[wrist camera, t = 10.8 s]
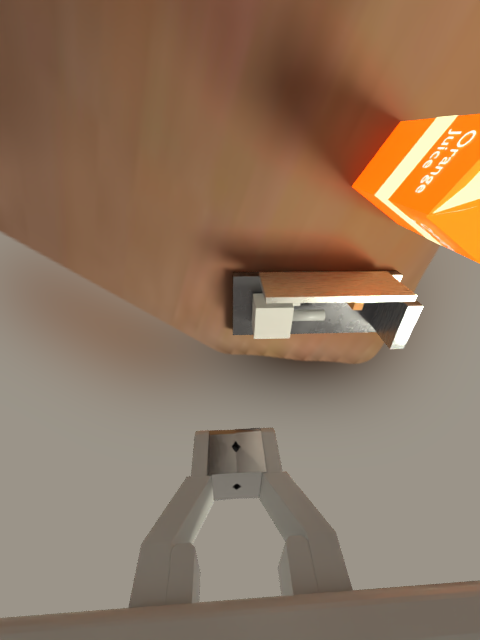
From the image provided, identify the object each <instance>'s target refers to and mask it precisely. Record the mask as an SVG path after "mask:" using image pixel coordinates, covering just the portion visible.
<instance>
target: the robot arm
mask: <svg viewBox="0 0 480 640" xmlns="http://www.w3.org/2000/svg"><path fill="white" fill-rule="evenodd" d="M236 498H260V501H261V502H262V504H263V506H264V507H265V509H266V511H267V512H268V514H269V516H270V517H271V519H272V521H273V522H274V524H275V526H276V527H277V529H278V530H279V532H280V534H281V535H282V537H283V539H284V540H285V542H286V543H285V546H284V549H283V552H282V556H281V559H280V562H279V565H278V571H279V580H280V588H281V596H276V597H262V598H249V599H237V600H224V601H212V602H199V593H200V569H199V565H198V560H197V555H196V550H195V547H194V546H193V545H192V544H193V542H194V540H195V538H196V536H197V535H198V533H199V531H200V529H201V526H202V524H203V523H204V521H205V519H206V516H207V515H208V513H209V511H210V509H211V507H212V505H213V503H214V500H225V499H236ZM0 640H480V581H467V582H454V583H442V584H428V585H415V586H403V587H390V588H377V589H364V590H352V586H351V583H350V579H349V576H348V573H347V569H346V566H345V562H344V559H343V555H342V552H341V549H340V545H339V542H338V538H337V535H336V532H335V531H334V529H333V528H332V527H331V526H330V525H329V523H328V522H327V521H326V520H325V518H324V517H323V516H322V515H321V514H320V512H319V511H318V510H317V509H316V507H315V506H314V505H313V504H312V502H311V501H310V500H309V499H308V498H307V497H306V495H305V494H304V493H303V491H302V490H301V489H300V488H299V486H298V485H297V484H296V483H295V482H294V480H293V479H292V478H291V477H290V475H289V474H288V473H287V472H282V467H281V461H280V456H279V451H278V445H277V440H276V435H275V430H274V428H251V429H235V430H214V431H196V432H195V437H194V449H193V459H192V470H191V476H189V477H186V479H185V480H184V482H183V483H182V485H181V486H180V488H179V489H178V491H177V492H176V494H175V495H174V497H173V498H172V500H171V501H170V502H169V504H168V506H167V507H166V508H165V510H164V511H163V513H162V515H161V516H160V517H159V519H158V520H157V522H156V523H155V525H154V526H153V528H152V529H151V531H150V532H149V534H148V535H147V536H146V538H145V540H144V541H143V543H142V544H141V548H140V553H139V559H138V563H137V568H136V573H135V578H134V583H133V588H132V593H131V598H130V603H129V608H122V609H110V610H96V611H84V612H71V613H59V614H45V615H32V616H19V617H7V618H0Z"/></svg>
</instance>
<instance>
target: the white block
mask: <svg viewBox="0 0 480 640" xmlns="http://www.w3.org/2000/svg"><path fill="white" fill-rule="evenodd" d="M294 306H300V303H265V299H264V296H263V293H257V294H253V302H252V322H251V323H252V329H253V335H254V339H274V338H290V332H291V325H292V321H323V320H325V310H324V309H310V310H294Z"/></svg>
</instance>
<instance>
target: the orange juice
mask: <svg viewBox="0 0 480 640" xmlns="http://www.w3.org/2000/svg"><path fill="white" fill-rule="evenodd" d="M352 187H353V188H354V189H355V190H356V191H358V192H359V193H360V194H361V195H363V196H364V197H365V198H366V199H368V200H369V201H370V202H371V203H373V204H374V205H375V206H376V207H377V208H379V209H380V210H381V211H382V212H384V213H385V214H386V215H387V216H389V217H390V218H391V219H392V220H394V221H395V222H396V223H397V224H399V225H401V226H403V227H405V228H407V229H409V230H411V231H413V232H415V233H418V234H420V235H422V236H424V237H426V238H427V239H429V240H431V241H433V242H435V243H437V244H439V245H441V246H445V247H446V248H449V249H451V250H453V251H455V252H457V253H459V254H461V255H463V256H465V257H467V258H469V259H471V260H474V261H476V262H478V263H480V114H473V115H463V116H458V115H454V116H444V117H437V118H431V119H421V120H411V121H400V123H399V124H398V125H397V127H396V128H395V129H394V131H393V132H392V133H391V135H390V136H389V137H388V139H387V140H386V141H385V143H384V144H383V145H382V147H381V148H380V149H379V151H378V152H377V153H376V155H375V156H374V157H373V159H372V160H371V161H370V163H369V164H368V165H367V167H366V168H365V169H364V171H363V172H362V173H361V175H360V176H359V177H358V179H357V180H356V181H355V183H354V184H353V185H352Z"/></svg>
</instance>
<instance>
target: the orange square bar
mask: <svg viewBox="0 0 480 640" xmlns="http://www.w3.org/2000/svg"><path fill="white" fill-rule="evenodd" d="M347 303H348V305H349V306H350V307H351V309H352V310H362V308H363V305H364V303H356V302H347Z"/></svg>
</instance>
